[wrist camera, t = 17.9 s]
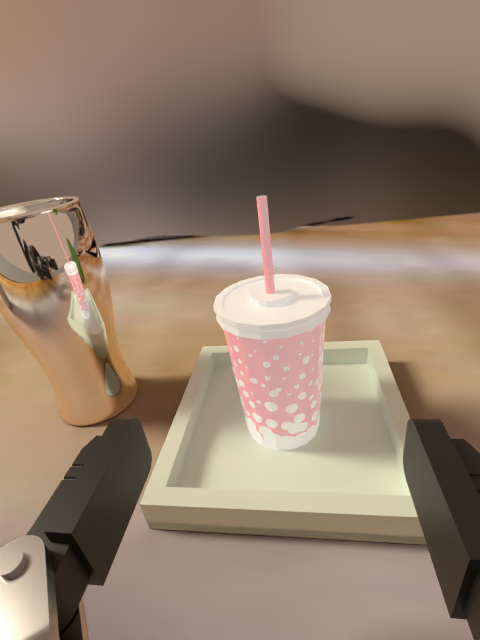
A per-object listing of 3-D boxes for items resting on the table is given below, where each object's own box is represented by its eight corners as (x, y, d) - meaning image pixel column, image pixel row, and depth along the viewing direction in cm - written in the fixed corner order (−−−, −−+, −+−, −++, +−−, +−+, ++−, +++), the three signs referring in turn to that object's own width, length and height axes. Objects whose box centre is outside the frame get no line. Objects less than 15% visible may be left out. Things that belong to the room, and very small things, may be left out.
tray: (149, 528, 18) (139, 504, 17) (206, 365, 30) (202, 346, 29) (443, 545, 16) (450, 518, 15) (377, 361, 28) (378, 340, 27)
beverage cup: (330, 467, 19) (328, 205, 13) (224, 454, 21) (173, 217, 14) (333, 393, 24) (332, 179, 18) (247, 387, 26) (218, 190, 19)
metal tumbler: (157, 398, 27) (96, 198, 20) (65, 447, 24) (-48, 229, 17) (125, 362, 32) (67, 193, 25) (46, 398, 29) (-47, 215, 22)
